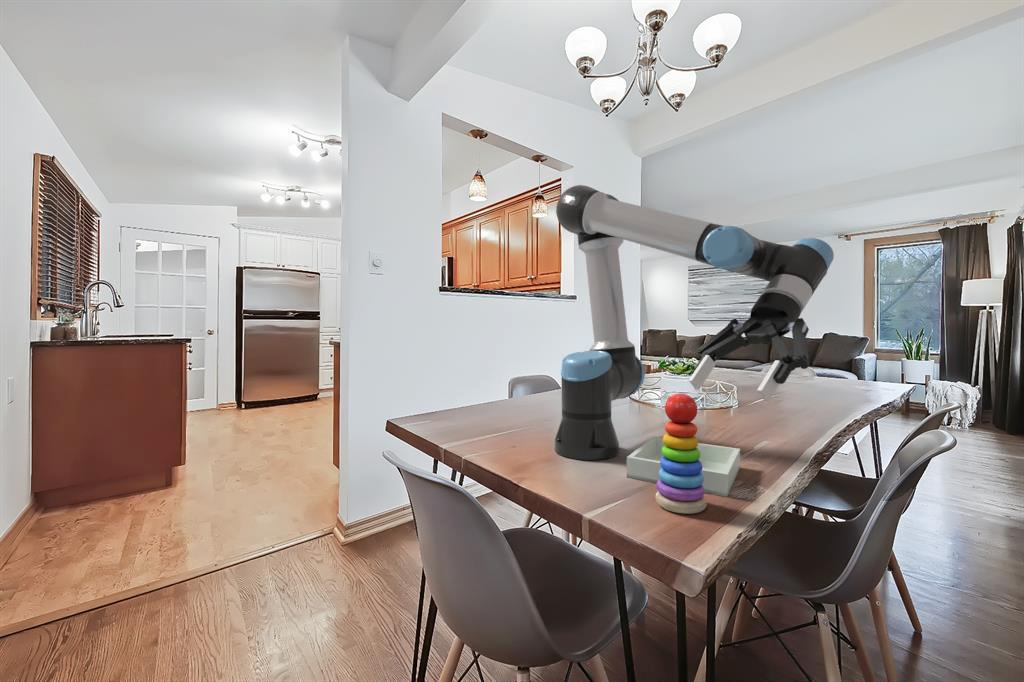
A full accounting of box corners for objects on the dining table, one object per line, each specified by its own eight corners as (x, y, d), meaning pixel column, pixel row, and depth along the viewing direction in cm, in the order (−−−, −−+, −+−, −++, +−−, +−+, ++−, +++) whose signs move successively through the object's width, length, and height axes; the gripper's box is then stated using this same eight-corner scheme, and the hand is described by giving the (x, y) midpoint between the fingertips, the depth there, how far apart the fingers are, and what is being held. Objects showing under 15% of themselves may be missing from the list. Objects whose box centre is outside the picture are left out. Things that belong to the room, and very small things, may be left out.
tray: (626, 477, 86) (626, 457, 85) (652, 453, 101) (652, 436, 100) (727, 497, 76) (727, 474, 75) (739, 467, 90) (740, 448, 90)
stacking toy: (717, 512, 70) (719, 396, 69) (675, 519, 67) (676, 399, 67) (684, 493, 77) (685, 389, 76) (646, 499, 75) (646, 391, 74)
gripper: (864, 317, 72) (809, 417, 66) (730, 319, 94) (680, 393, 88) (847, 284, 69) (788, 385, 63) (713, 294, 92) (660, 369, 86)
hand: (725, 390), depth 76 cm, fingers open, 13 cm apart
